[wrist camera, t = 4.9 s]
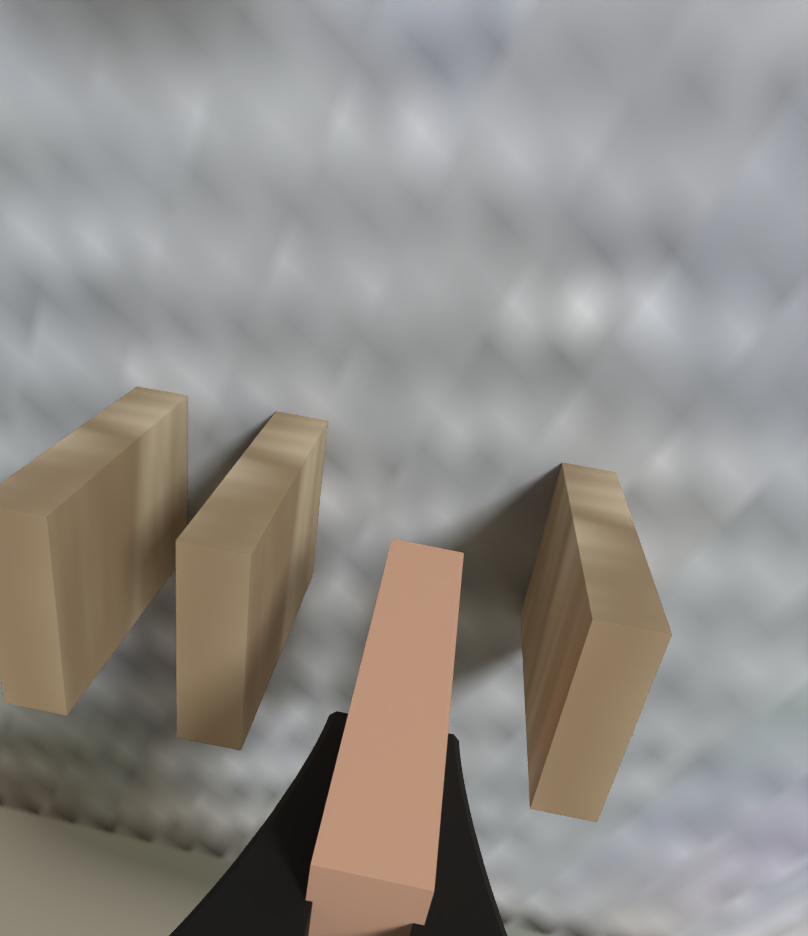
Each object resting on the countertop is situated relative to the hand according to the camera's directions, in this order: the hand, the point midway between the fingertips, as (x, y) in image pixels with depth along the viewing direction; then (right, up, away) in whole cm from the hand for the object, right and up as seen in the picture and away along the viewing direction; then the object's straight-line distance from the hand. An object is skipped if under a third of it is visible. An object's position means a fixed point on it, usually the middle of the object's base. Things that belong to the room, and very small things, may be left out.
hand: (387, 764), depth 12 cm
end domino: (+5, +3, +7) cm, 9 cm away
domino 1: (-6, +5, +8) cm, 11 cm away
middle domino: (-3, +4, +8) cm, 9 cm away
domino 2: (0, +1, +3) cm, 3 cm away
